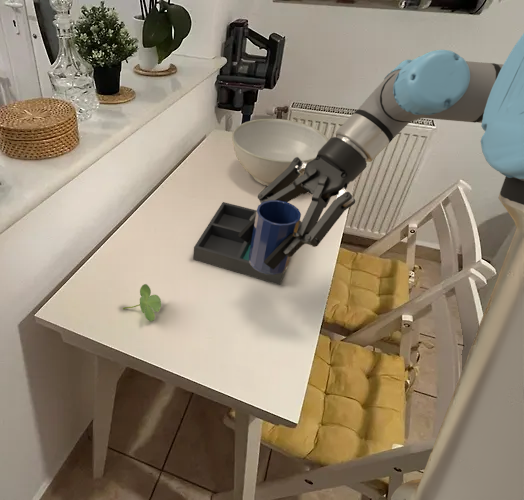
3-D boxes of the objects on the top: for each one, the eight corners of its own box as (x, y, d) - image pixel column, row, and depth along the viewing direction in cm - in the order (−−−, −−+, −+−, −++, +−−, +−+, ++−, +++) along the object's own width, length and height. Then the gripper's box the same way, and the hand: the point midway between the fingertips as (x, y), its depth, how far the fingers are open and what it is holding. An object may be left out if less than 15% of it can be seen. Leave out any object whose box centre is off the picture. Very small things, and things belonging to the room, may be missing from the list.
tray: (280, 285, 92) (283, 273, 89) (193, 259, 98) (193, 247, 95) (298, 233, 106) (301, 221, 103) (221, 213, 112) (222, 201, 109)
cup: (296, 267, 78) (309, 218, 70) (263, 279, 75) (274, 229, 68) (272, 244, 82) (282, 196, 75) (241, 255, 80) (248, 206, 73)
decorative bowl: (327, 204, 116) (338, 164, 108) (227, 197, 117) (232, 157, 110) (312, 157, 136) (321, 121, 128) (228, 152, 138) (232, 115, 130)
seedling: (139, 325, 89) (165, 318, 86) (115, 328, 82) (143, 321, 79) (132, 291, 90) (158, 283, 87) (108, 292, 83) (135, 283, 80)
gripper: (405, 190, 66) (300, 295, 71) (318, 137, 80) (235, 228, 85) (393, 166, 61) (280, 282, 66) (301, 114, 75) (214, 213, 80)
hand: (255, 251), depth 75 cm, fingers closed on cup, 7 cm apart
